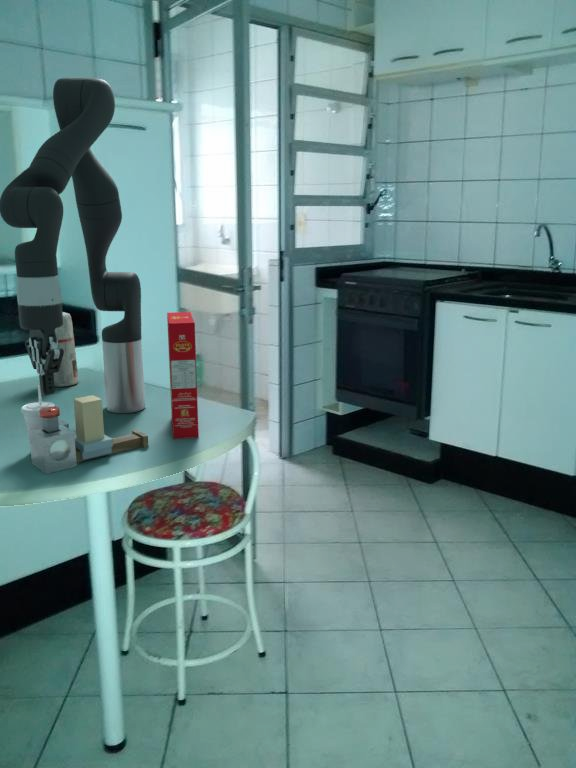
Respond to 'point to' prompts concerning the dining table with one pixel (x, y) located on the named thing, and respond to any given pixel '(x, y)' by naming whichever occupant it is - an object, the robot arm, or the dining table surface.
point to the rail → (122, 444)
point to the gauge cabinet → (53, 449)
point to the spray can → (66, 354)
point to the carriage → (90, 427)
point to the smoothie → (34, 412)
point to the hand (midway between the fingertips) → (47, 393)
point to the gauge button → (50, 419)
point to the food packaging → (183, 374)
